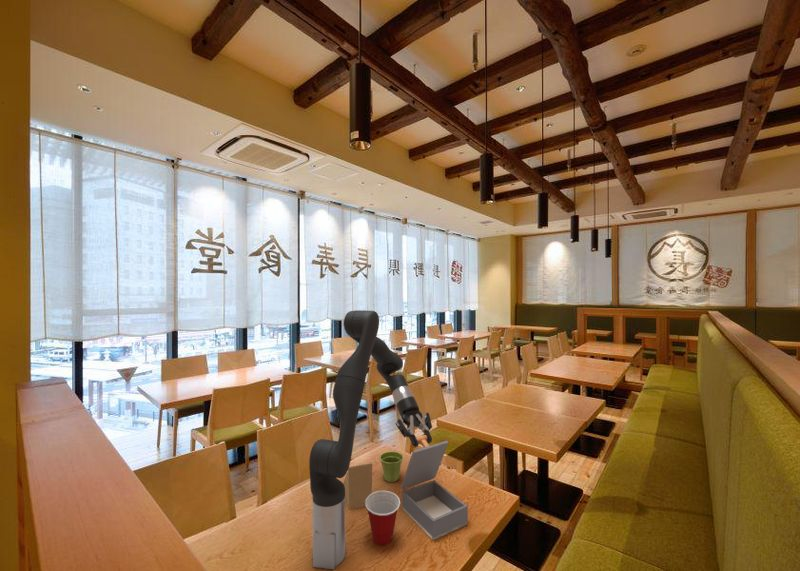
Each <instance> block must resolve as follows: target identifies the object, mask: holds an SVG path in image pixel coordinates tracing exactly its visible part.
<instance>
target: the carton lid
mask: <svg viewBox="0 0 800 571" xmlns="http://www.w3.org/2000/svg"><path fill="white" fill-rule="evenodd" d="M415 437H416V439H417V441H418V444H421V446H422V448H418V449H415V450H412V452H411V453H412V454H411V456H410V459H409V462H408V466H407V468H406V471H405V475H404V476H403V479H402V482H401V486H400V489H401V491H403V490H407V489H410V488H411V487H412V488H413V487H415V486H418V485H419V484H420V485H421V484H424V483H426V482H429V481H432V480H435V479H436V476H437V474H438V472H439V468H440V466H441V463H442V460H443V458H444V455H445V452H446V449H447V447H448V444H449V441H448V440H444V441H441V442H437V443H434V444H432V445H431V444H428V443H427V436H426V435H424V434H422V435H419V436H415Z"/></svg>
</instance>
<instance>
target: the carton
mask: <svg viewBox="0 0 800 571" xmlns="http://www.w3.org/2000/svg"><path fill="white" fill-rule="evenodd" d="M401 509H402V510H403V512H404V513H405V514H406V515H407V516H409V518H410V519H412V521H413V522H414V523H415V524H416V525H417V526H418V527H419V528H420V529H421V530H422V531H423V532H424V533H425V534H426V535H427V536H428V537H429V538H430V539H431V540H432V541H433V542H434V541H436V540H438V539H440V538H442V537H444V536H446V535H448V534H451V533H453V532H455V531H457V530H459V529H461V528H463V527H465V526H467V525H469V524H468V522H469V521H468V520H469V517H468V514H469V513H468V511H469V510H468V509H469V506H468V505H467V504H466V503H464V502H463V501H462V500H460V499H459V498H458V497H456V496H455V494H453V493H451V492H450V491H449V490H448V489H447V488H445V487H443V485H441V484H440V483H439V482H438V481H436V480H435V479H432V480H429V481H427V482H424V483H421V484H420V485H419V484H418V485H416V486H413V487H412V488H411V487H410V488H407V489H405V490H404V491H403V490H402V492H401Z"/></svg>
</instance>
